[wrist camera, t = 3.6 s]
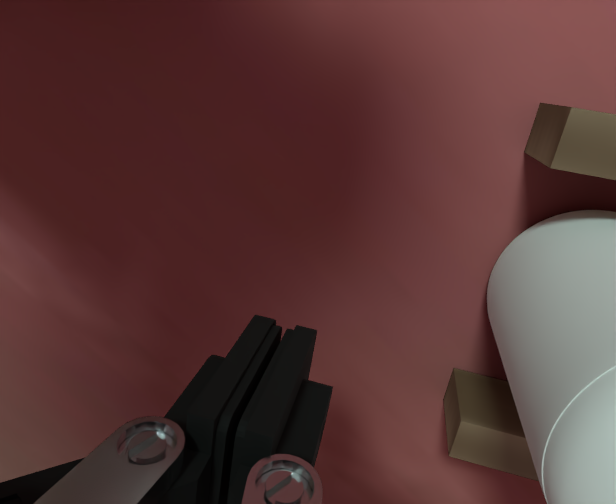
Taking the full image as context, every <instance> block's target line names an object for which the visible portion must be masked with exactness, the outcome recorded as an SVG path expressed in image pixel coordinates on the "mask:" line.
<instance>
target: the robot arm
mask: <svg viewBox="0 0 616 504" xmlns="http://www.w3.org/2000/svg"><path fill="white" fill-rule="evenodd" d="M281 334H282V327H280V326H276V320H274V319H270V318H266V317H262V316H258V315H255V316H254V317H253V318H252V320H251V321H250V323H249V324H248V326H247V327H246V329H245V330H244V331H243V333H242V334H241V336H240V337H239V339H238V340H237V342H236V343H235V345H234V346H233V347H232V349H231V350H230V352H229V353H228V355H227V356H226V358H224V357H220V356H216V355H211V356H210V357H209V358H208V359H207V361H206V362H205V363H204V365H203V366H202V367H201V369H200V370H199V371H198V373H197V374H196V375H195V377H194V378H193V379H192V381H191V382H190V383H189V385H188V386H187V387H186V389H185V390H184V391H183V393H182V394H181V395H180V397H179V398H178V399H177V401H176V402H175V403H174V405H173V406H172V407H171V409H170V410H169V411H168V413H167V414H166V415H165V417H164V418H163V417H158V416H147V417H141V418H137V419H134V420H132V421H129V422H127V423H125V424H124V425H122V426H121V427H119V428H118V429H117V430H116V431H115V432H114V433H112V434H111V435H110V436H109V437H108V438H107V439H106V440H105V441H103V442H102V443H101V444H100V445H99V446H98V447H97V448H96V449H94V450H93V451H92V452H91V453H90V454H89V455H88V456H87V457H85V458H82V459H79V460H76V461H72V462H69V463H65V464H62V465H59V466H55V467H52V468H49V469H45V470H42V471H39V472H35V473H32V474H28V475H25V476H22V477H18V478H15V479H12V480H8V481H5V482H2V483H0V504H322V493H323V489H322V482H321V479H320V477H319V475H318V473H317V471H316V470H315V469H314V465H315V461H316V458H317V454H318V450H319V446H320V442H321V438H322V434H323V430H324V426H325V421H326V417H327V412H328V408H329V403H330V399H331V394H332V389H333V387H332V386H328V385H324V384H321V383H317V382H313V381H309V380H308V377H309V372H310V367H311V361H312V356H313V351H314V345H315V340H316V334H317V330H314V329H310V328H306V327H302V326H298V325H296V327H295V329H294V330H292V329H287V330H286V332H285V334H284V336H283V338H282V340H281ZM280 340H281V342H280Z"/></svg>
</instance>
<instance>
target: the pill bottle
mask: <svg viewBox="0 0 616 504" xmlns="http://www.w3.org/2000/svg"><path fill="white" fill-rule="evenodd" d="M487 309H488V316H489V320H490V324H491V327H492V330H493V334H494V337H495V340H496V343H497V347H498V350H499V353H500V356H501V359H502V363H503V366H504V369H505V372H506V376H507V379H508V382H509V385H510V389H511V392H512V395H513V398H514V401H515V405H516V408H517V411H518V414H519V418H520V421H521V424H522V427H523V431H524V434H525V437H526V440H527V443H528V447H529V450H530V453H531V456H532V460H533V463H534V466H535V469H536V473H537V476H538V479H539V482H540V485H541V488H542V491H543V494H544V497H545V499H546V502H547V504H616V212H613V211H605V210H580V211H573V212H567V213H563V214H559V215H556V216H553V217H550V218H548V219H545V220H543V221H541V222H539V223H537V224H535V225H533V226H531V227H530V228H528V229H527V230H525V231H524V232H522V233H521V234H520V235H519V236H517V237H516V238H515V239H514V240H513V241H512V242H511V243H510V244H509V245H508V246H507V247H506V249H505V250H504V251H503V252H502V254H501V255H500V257H499V258H498V260H497V262H496V263H495V265H494V268H493V270H492V272H491V275H490V279H489V283H488V288H487Z"/></svg>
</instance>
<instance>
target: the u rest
mask: <svg viewBox="0 0 616 504" xmlns="http://www.w3.org/2000/svg"><path fill="white" fill-rule="evenodd" d="M524 152H525V153H526V154H528V155H530V156H531V157H533V158H535V159H536V160H538V161H539V162H541V163H543V164H544V165H546V166H548V167H549V168H552V169H558V170H563V171H568V172H574V173H579V174H585V175H590V176H596V177H601V178H606V179H612V180H616V115H615V114H609V113H603V112H597V111H591V110H585V109H579V108H573V107H566V106H559V105H552V104H545V103H540V105H539V108H538V112H537V115H536V118H535V121H534V124H533V127H532V130H531V133H530V136H529V139H528V142H527V145H526V148H525V151H524ZM443 400H444V411H445V421H446V432H447V442H448V453H449V456H450V457H453V458H457V459H461V460H464V461H468V462H471V463H475V464H479V465H482V466H486V467H489V468H493V469H497V470H500V471H504V472H507V473H511V474H514V475H518V476H522V477H525V478H529V479H532V480H536V481H539V479H538V476H537V473H536V469H535V466H534V463H533V460H532V456H531V453H530V450H529V447H528V443H527V440H526V437H525V434H524V431H523V427H522V424H521V421H520V418H519V414H518V411H517V408H516V405H515V401H514V398H513V395H512V392H511V389H510V385H509V382H507V381H503V380H499V379H495V378H491V377H487V376H483V375H479V374H475V373H471V372H467V371H463V370H459V369H455V368H454V369H453V372H452V375H451V378H450V381H449V384H448V387H447V390H446V393H445V396H444V399H443Z"/></svg>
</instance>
